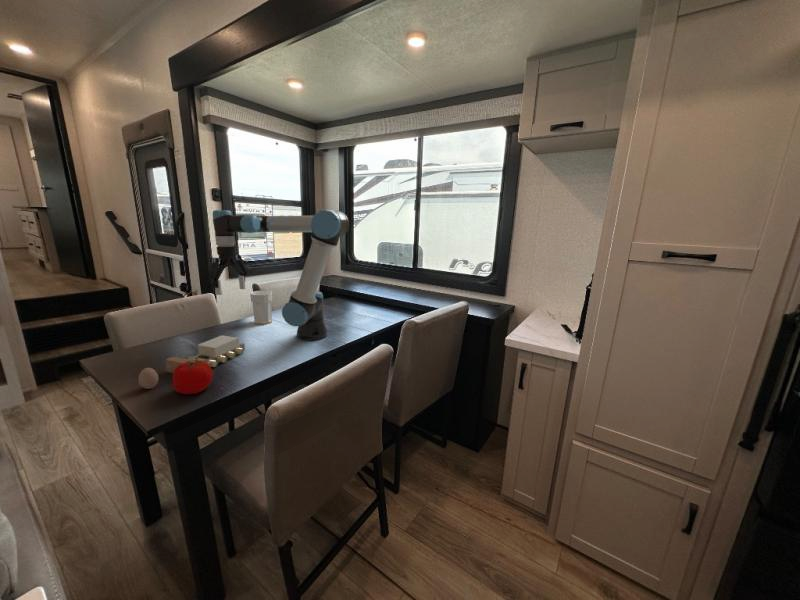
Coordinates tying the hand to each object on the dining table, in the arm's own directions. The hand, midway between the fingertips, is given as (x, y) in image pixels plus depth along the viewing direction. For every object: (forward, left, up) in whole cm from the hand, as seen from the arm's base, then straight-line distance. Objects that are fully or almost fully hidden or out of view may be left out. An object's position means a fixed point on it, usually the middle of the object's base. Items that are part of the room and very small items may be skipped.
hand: (231, 291), depth 147 cm
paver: (-9, +18, -21) cm, 29 cm away
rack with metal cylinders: (-9, +22, -24) cm, 34 cm away
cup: (+7, -27, -24) cm, 37 cm away
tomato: (-23, +42, -24) cm, 54 cm away
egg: (-8, +46, -24) cm, 53 cm away
